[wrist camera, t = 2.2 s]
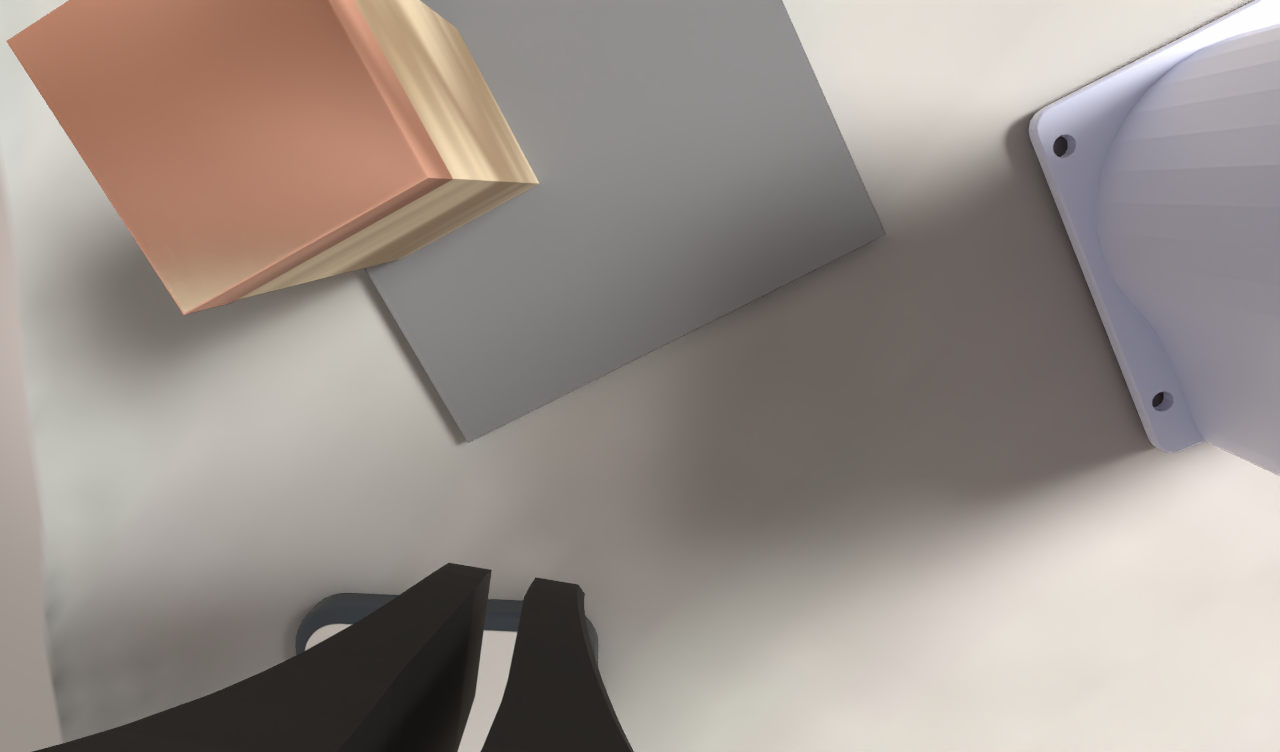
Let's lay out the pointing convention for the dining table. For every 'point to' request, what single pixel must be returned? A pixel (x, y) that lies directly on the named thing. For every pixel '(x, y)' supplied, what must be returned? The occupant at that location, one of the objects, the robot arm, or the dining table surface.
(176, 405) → the dining table surface
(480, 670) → the phone case
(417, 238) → the birch block
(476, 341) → the rubber mat
